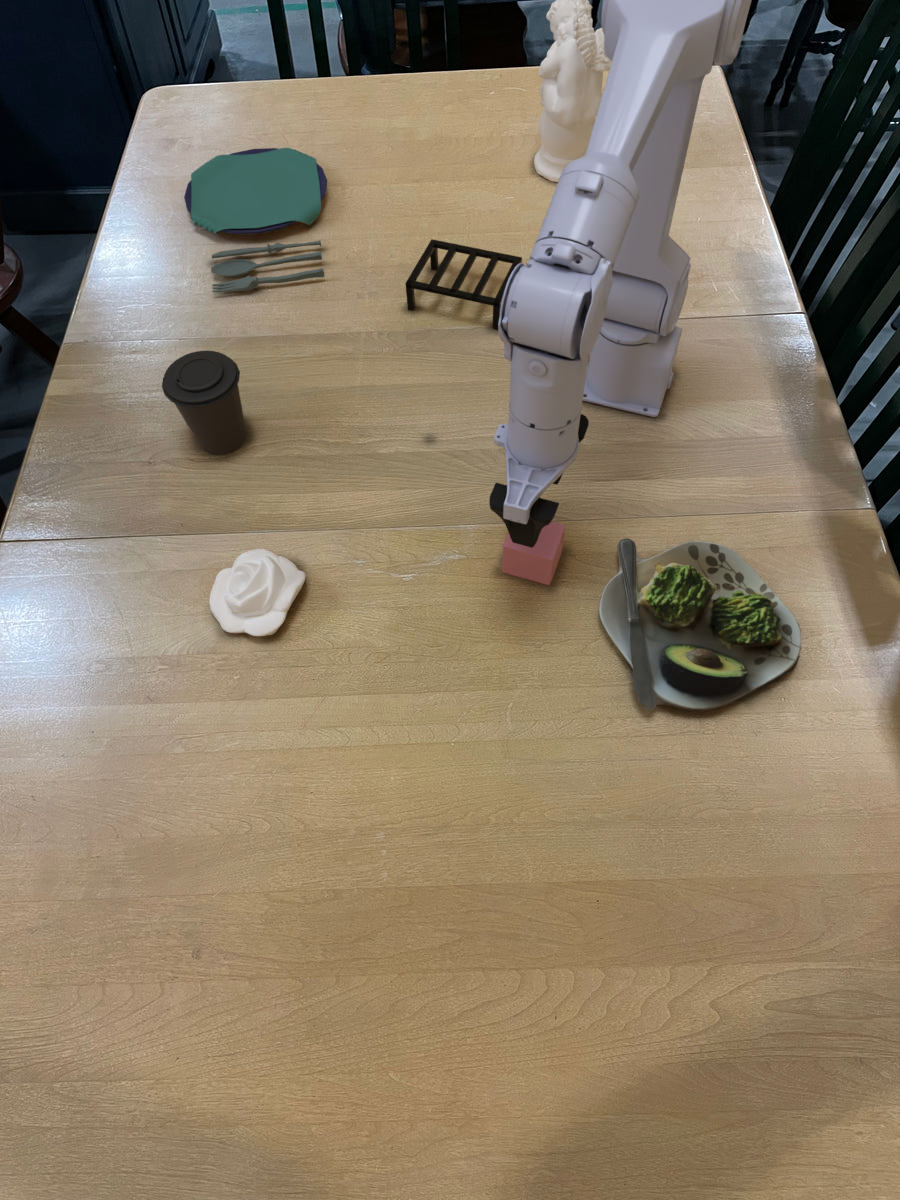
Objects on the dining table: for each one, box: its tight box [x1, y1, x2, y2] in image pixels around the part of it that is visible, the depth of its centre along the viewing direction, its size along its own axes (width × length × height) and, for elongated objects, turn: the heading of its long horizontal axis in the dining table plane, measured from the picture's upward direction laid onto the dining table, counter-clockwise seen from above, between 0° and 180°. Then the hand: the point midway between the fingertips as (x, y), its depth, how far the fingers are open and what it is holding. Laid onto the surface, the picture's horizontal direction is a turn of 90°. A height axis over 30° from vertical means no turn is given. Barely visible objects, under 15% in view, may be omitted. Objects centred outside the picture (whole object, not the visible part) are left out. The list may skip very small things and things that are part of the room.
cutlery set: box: [183, 147, 328, 294], centre depth 116 cm, size 20×30×2 cm, turn 9°
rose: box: [208, 548, 307, 637], centre depth 82 cm, size 10×4×10 cm
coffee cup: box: [161, 350, 247, 456], centre depth 92 cm, size 8×8×10 cm
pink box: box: [501, 520, 567, 587], centre depth 84 cm, size 5×4×4 cm
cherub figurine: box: [533, 0, 612, 183], centre depth 112 cm, size 12×12×22 cm
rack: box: [405, 238, 523, 331], centre depth 105 cm, size 12×9×4 cm
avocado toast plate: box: [598, 537, 802, 713], centre depth 79 cm, size 19×18×5 cm
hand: (536, 510), depth 78 cm, fingers open, 7 cm apart
